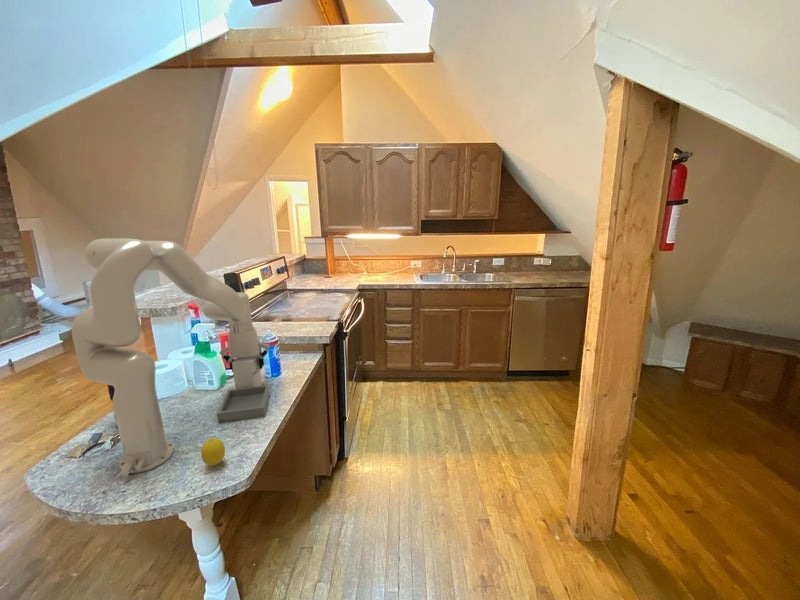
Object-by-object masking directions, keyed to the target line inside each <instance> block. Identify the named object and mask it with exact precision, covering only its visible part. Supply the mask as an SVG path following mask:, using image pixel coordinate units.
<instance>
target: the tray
mask: <svg viewBox="0 0 800 600" xmlns="http://www.w3.org/2000/svg"><path fill="white" fill-rule="evenodd" d="M270 394H271V392H270V385H269V384H265V385H261V386H256V387H248V388H240V389H235V388H233V389H227V391H226V393H225V395H224V398H223V399H222V402H221V404H220V406H219V409H218V410H217V413H216V417H217V422H218V424H223V423H222V422H225V423H230V422H238V421H244V420H245V421H246V420H251V419H258V418H265V415H266V412H267V408H268V403H269V399H270Z"/></svg>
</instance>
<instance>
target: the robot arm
mask: <svg viewBox="0 0 800 600" xmlns="http://www.w3.org/2000/svg"><path fill="white" fill-rule="evenodd" d="M84 256H85V257H84V258H85V259H86V262H87V263H88V264H89V265H90V266H91V267H92V268H94V269H96V271H95V273H94V275H93V277H92V279H91V282H90V284H89V285H90V286H89V293H90V294H89V295H90V300H91V302H90V303H91V307H90V308H86V309H84V310H82V311H80V312H79V313H78V314H77V315H76V316H75V318H74V319H73V322H72V324H71V325H72V326H71V336H72V341H73V344H74V350H75V353H76V356H77V360H78V361H77V362H78V365H79V368H80V370H81V372H82V374H83V376H84V377H85V378H86V379H87V380H88V381H91V382H94V383H98V384H104V385H107V384H108V385H112V386H114V389H115V392H114V396H113V401H111V402H112V408H113V409H112V410H113V415H114V414H115V417H114V419H115V418H116V420H115V422H117V423H116V427H117V426H118V427H117V431H118V433H119V439H120V443H121V446H122V450H123V456H122V457H120V459H119V462H118V467H119V470H120V471H119V474H120V476H123V477H125V476H128V475H129V474H137V473H142V472H143V473H144V472H147V471H149V470H152V469H154V468H157V467H158V466H160V465H162V464H163V463H165V462H167V461H168V460H170V458H171V457H172V456H173V454H174V453H175V445H174V443H173V442H172V441H170V440H167V439H166V438H167V437H166V433H165V428H164V423H163V419H162V414H161V408H160V404H159V400H158V395H157V389H156V388H157V387H156V372H157V371H156V370H157V368H156V362H155V360H154V358H153V357H152V356H151V355H150V354H149V353H147V352H144V351H142V350H138V349H131V348H126V347H129V346H132V345H135V344H136V343H137V342H138V340H140V337H141V334H142V325H141V322H140V321H141V320H140V317H139V310H138V306H137V300H136V295H135V294H136V293H135V287H136V284H137V281H138V279H139V278H140V276H141V275H142V274H143V272H145V271H146V270H147V271H149V270H150V271H159V272H161V273H162V274H163V275H165V277H167V278H168V279H169V280H170V281H172V283H174V285H176V286H177V287H178V289H180V290H181V291H182V292H183V293H186V294H187V295H190V296H192V297H195V298H198V299H200V300H205V303H204V304H203V305H202V314H203V315H204V316H205V317H206V318H207V319H210V320H214V321H227V322H229V323H228V324H225V329H229V331H228V332H227V333H228V334H227V341H228V342H227V343H228V344H227V346H225V347H224V348H222V349H221V350H219V355H220V356H221V357H222V359H223V360H225V361H227V363H229V369H230V370H231V373H233V367H232V362H233V361H234V360H235V359H237V358H243V357H252V356H258V357H259V367H260V370H262V369H263V366H265V359H264V357H265V356H266V355H267V354H268V352H269V349H270V347H271V346H270V344H267V343H264V342H260V341H259V337H258V333H257V330H256V328H255V327H254V326H253V318H252V312H251V305H250V298H249V295H248V294H247V293H246V292H243V291H242V292H241V291H240V292H239V291H238V292H237V291H235V290H234V288H232V287H230V286H229V285H227V284H226V283H224V282H223V281H221V280H219V279H217V278H216V277H214V276H212V275H210V274H208V273H206V271H205V270H204V269H203V268H202V266H200V265H199V264H198V263H197V261H195V260H194V259H193V257H191V255H190V254H188V252H187V251H186V250H185V249H184V248H183V247H182V246H181V245H180V244H178V243H176V242H175V241H171V240H141V239H137V238H129V237H128V238H127V237H125V238H124V237H123V238H122V237H121V238H119V237H118V238H115V237H113V238H111V237H110V238H109V237H107V238H106V237H105V238H98V239H95V240H92V241H91V242H89V243H88V244H87V245H86V247H85V249H84ZM124 347H125V348H124ZM261 348H263V349H264V350H263V351H261ZM227 352H228V354H227Z"/></svg>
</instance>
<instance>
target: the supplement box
mask: <svg viewBox="0 0 800 600" xmlns="http://www.w3.org/2000/svg"><path fill="white" fill-rule="evenodd" d="M232 367H233V372H232V373H233V380H234V389H240V388H248V387H256V386H263V385H262V384H263V381H262V371H261V370H262V369H260V367H259V357H258V356H252V357H243V358H235V359H234V361H233V362H232Z"/></svg>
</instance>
